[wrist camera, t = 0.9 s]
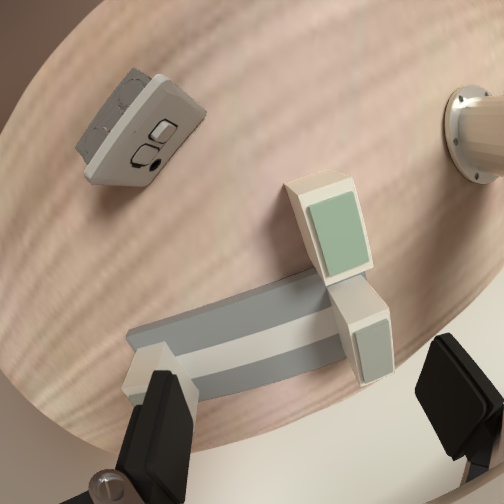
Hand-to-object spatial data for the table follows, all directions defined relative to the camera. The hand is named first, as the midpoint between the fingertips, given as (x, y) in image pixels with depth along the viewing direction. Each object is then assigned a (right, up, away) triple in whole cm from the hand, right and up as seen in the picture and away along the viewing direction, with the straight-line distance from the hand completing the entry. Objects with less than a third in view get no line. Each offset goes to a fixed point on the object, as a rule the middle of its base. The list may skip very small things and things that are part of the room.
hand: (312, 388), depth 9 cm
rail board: (-2, -6, +25) cm, 25 cm away
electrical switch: (-11, +16, +16) cm, 25 cm away
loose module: (+4, +9, +20) cm, 22 cm away
